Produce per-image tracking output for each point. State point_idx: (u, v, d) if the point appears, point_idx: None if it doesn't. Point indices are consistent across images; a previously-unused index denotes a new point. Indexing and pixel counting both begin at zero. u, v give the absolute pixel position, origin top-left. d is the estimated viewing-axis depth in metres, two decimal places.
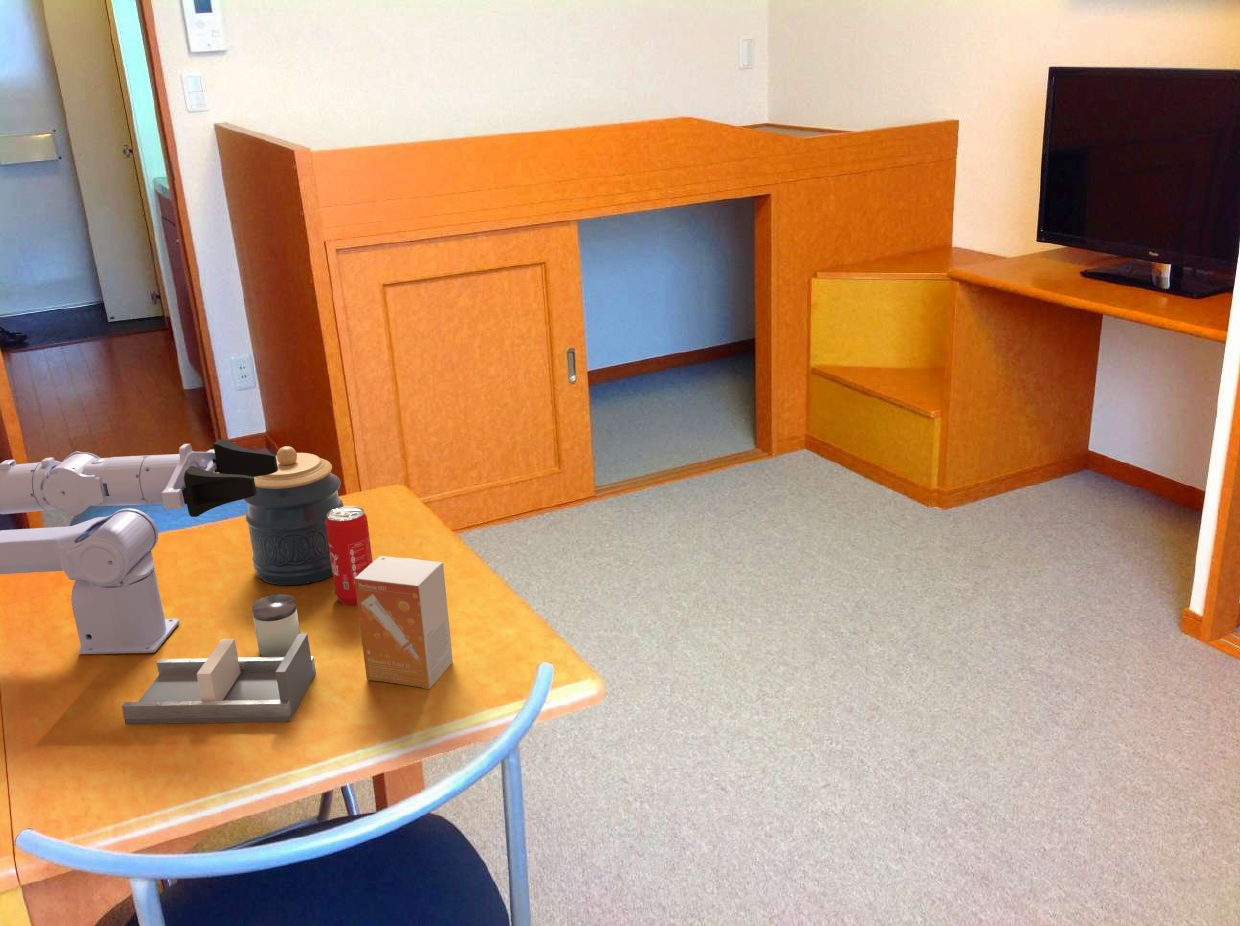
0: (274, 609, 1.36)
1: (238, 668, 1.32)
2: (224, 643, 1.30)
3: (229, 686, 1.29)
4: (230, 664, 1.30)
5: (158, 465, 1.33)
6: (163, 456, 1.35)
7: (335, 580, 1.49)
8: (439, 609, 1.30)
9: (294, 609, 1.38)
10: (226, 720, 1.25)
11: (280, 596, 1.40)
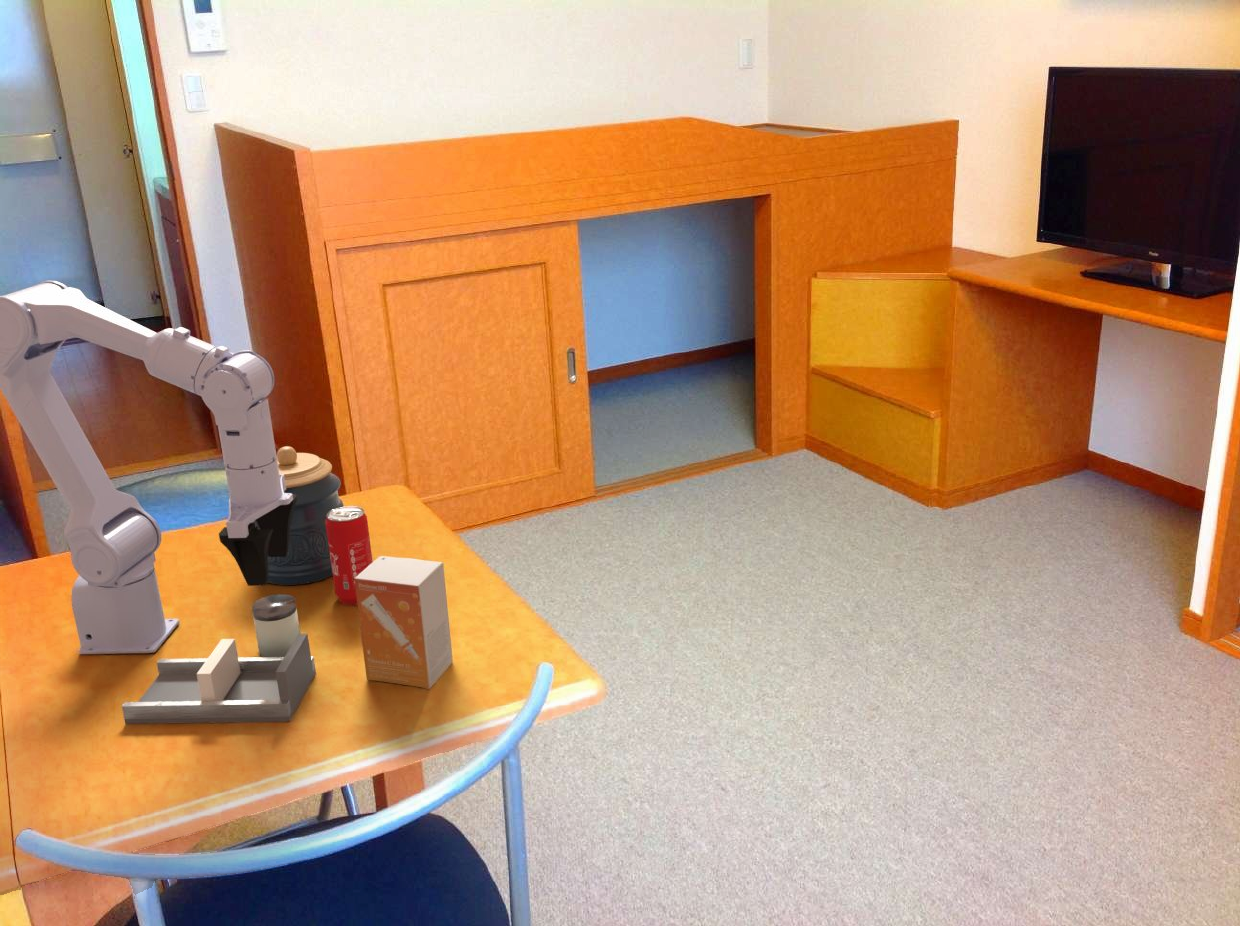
0: (274, 609, 1.36)
1: (238, 668, 1.32)
2: (224, 643, 1.30)
3: (229, 686, 1.29)
4: (230, 664, 1.30)
5: (268, 482, 1.30)
6: (277, 477, 1.32)
7: (335, 580, 1.49)
8: (439, 609, 1.30)
9: (294, 609, 1.38)
10: (226, 720, 1.25)
11: (280, 596, 1.39)
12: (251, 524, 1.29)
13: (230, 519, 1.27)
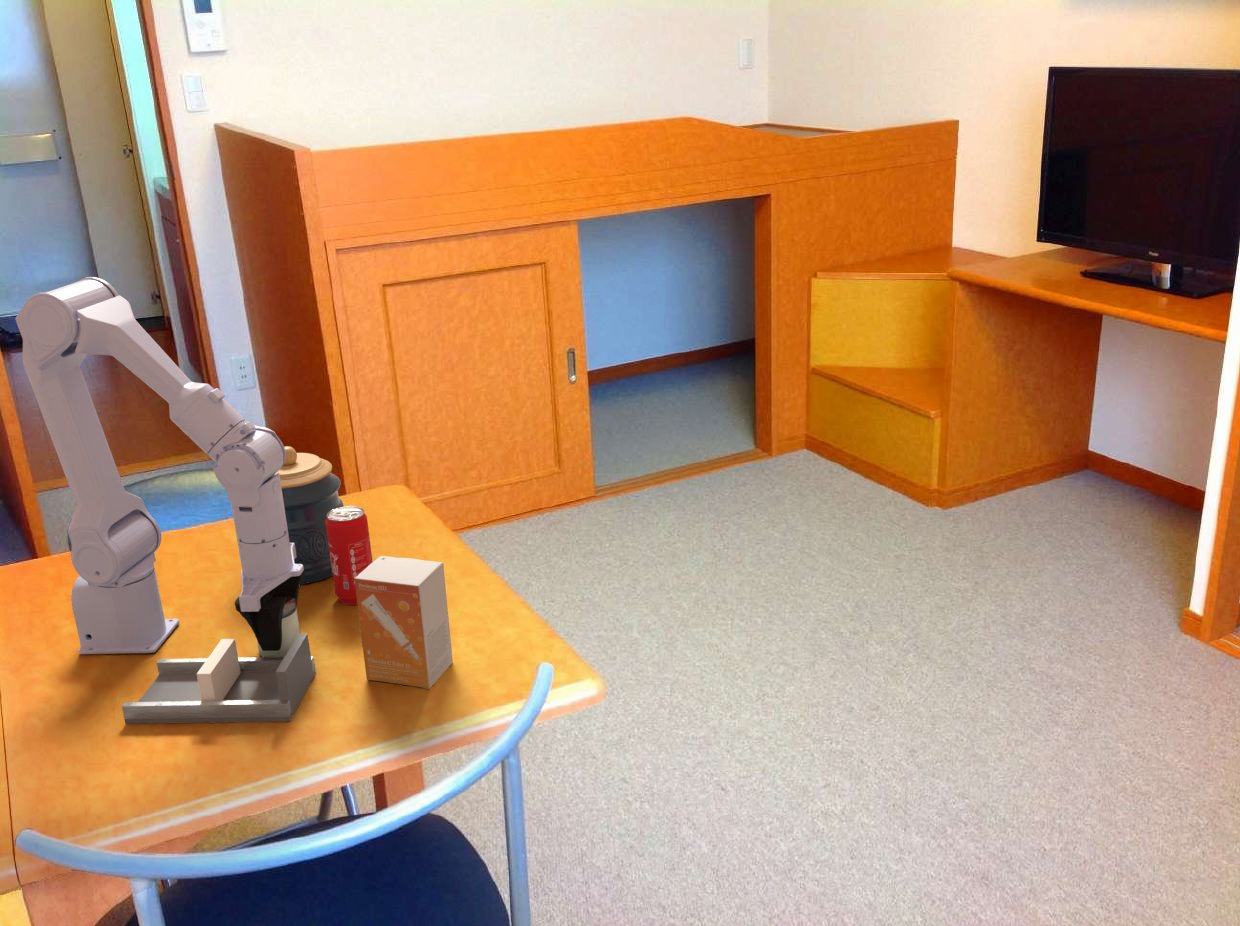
0: None
1: (238, 668, 1.32)
2: (224, 643, 1.30)
3: (229, 686, 1.29)
4: (230, 664, 1.30)
5: (279, 555, 1.34)
6: (288, 549, 1.35)
7: (335, 580, 1.49)
8: (439, 609, 1.30)
9: (294, 609, 1.38)
10: (226, 720, 1.25)
11: (280, 596, 1.39)
12: (263, 597, 1.32)
13: (243, 593, 1.30)
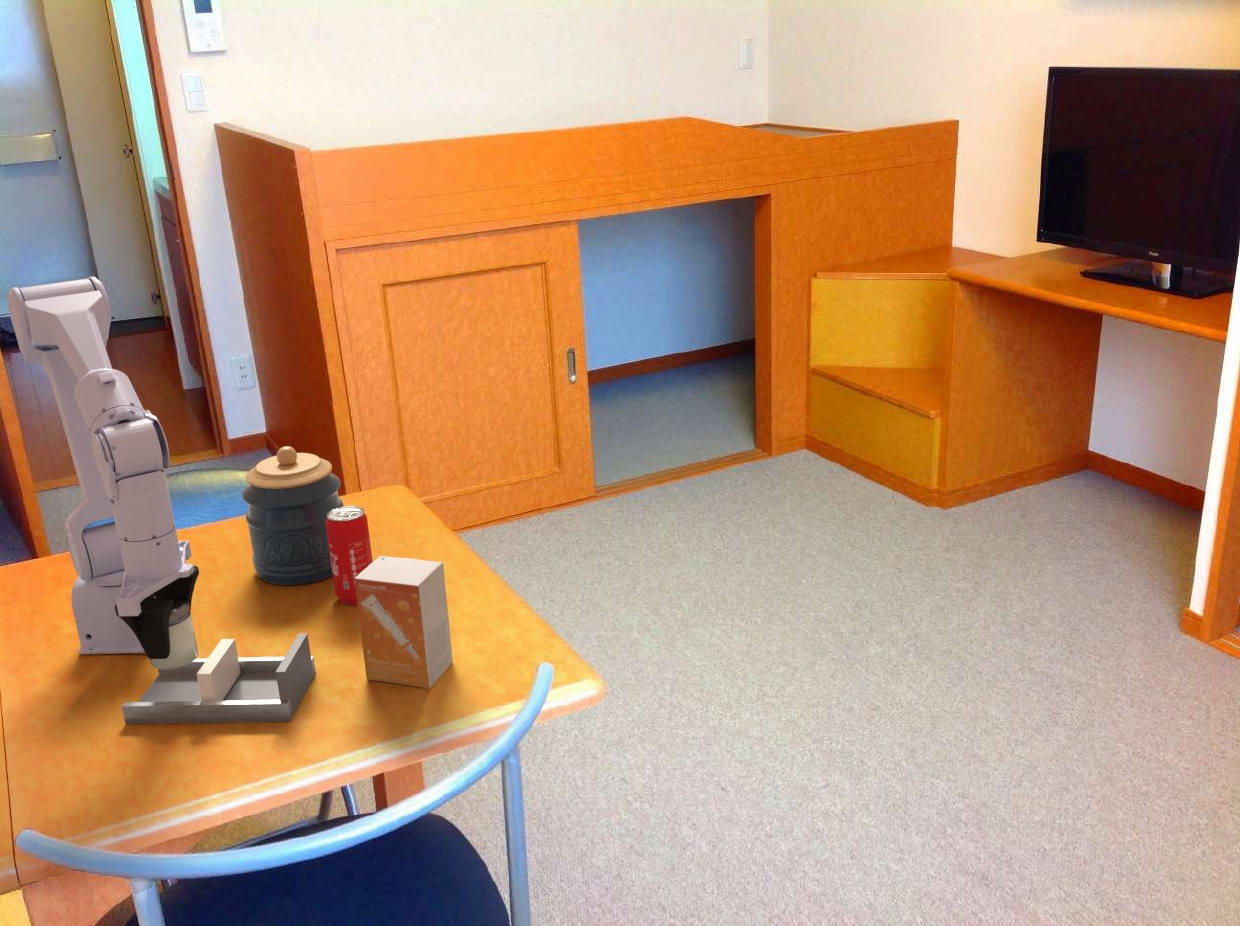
0: None
1: (238, 668, 1.32)
2: (224, 643, 1.30)
3: (229, 686, 1.29)
4: (230, 664, 1.30)
5: (164, 554, 1.22)
6: (176, 547, 1.23)
7: (335, 580, 1.49)
8: (439, 609, 1.30)
9: (188, 614, 1.26)
10: (226, 720, 1.25)
11: None
12: (145, 600, 1.21)
13: (121, 596, 1.19)
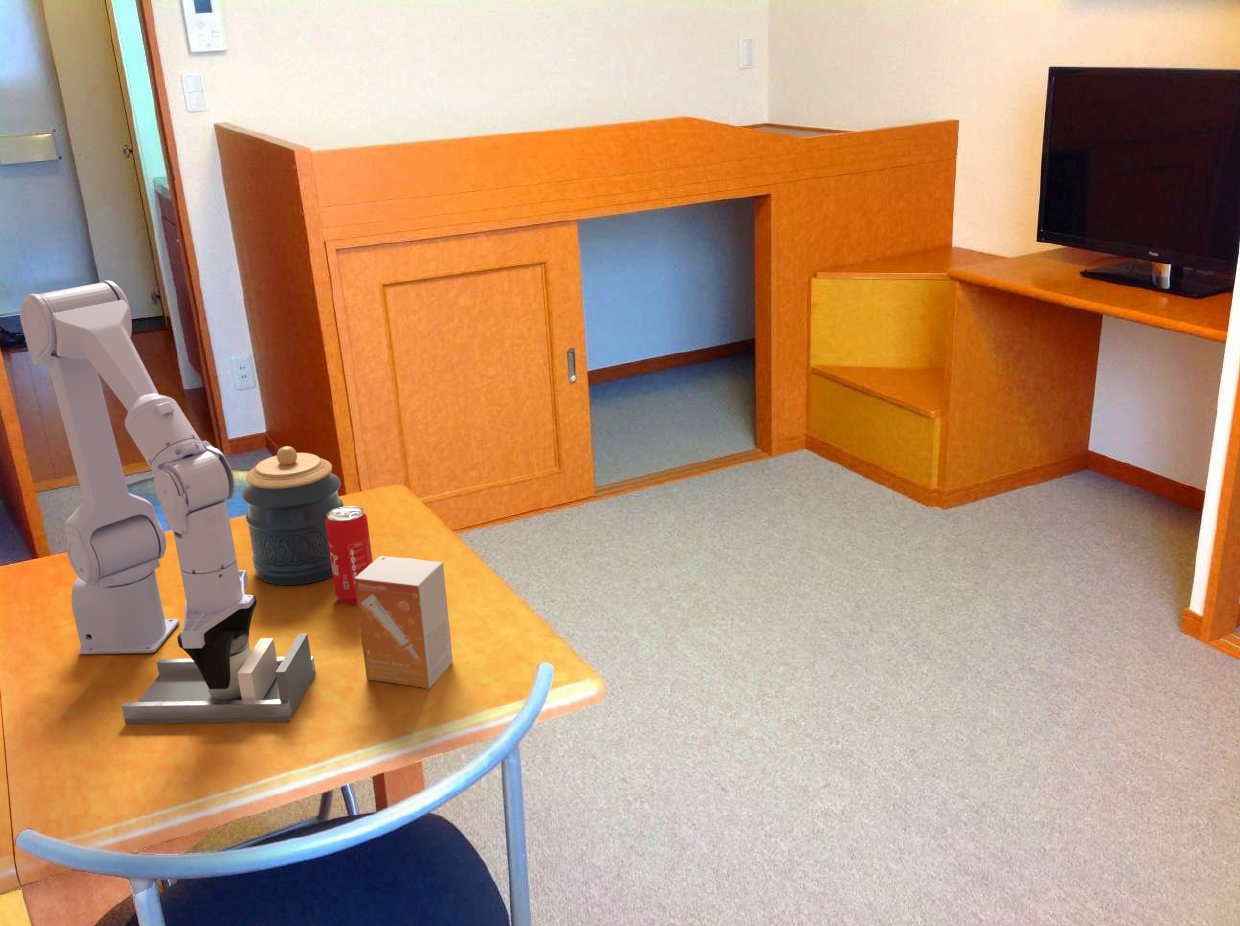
0: None
1: (276, 667, 1.32)
2: (263, 642, 1.30)
3: (268, 685, 1.29)
4: (269, 663, 1.30)
5: (226, 586, 1.23)
6: (237, 579, 1.24)
7: (335, 580, 1.49)
8: (439, 609, 1.30)
9: (247, 644, 1.27)
10: (226, 720, 1.25)
11: (230, 630, 1.29)
12: (208, 631, 1.22)
13: (185, 628, 1.20)
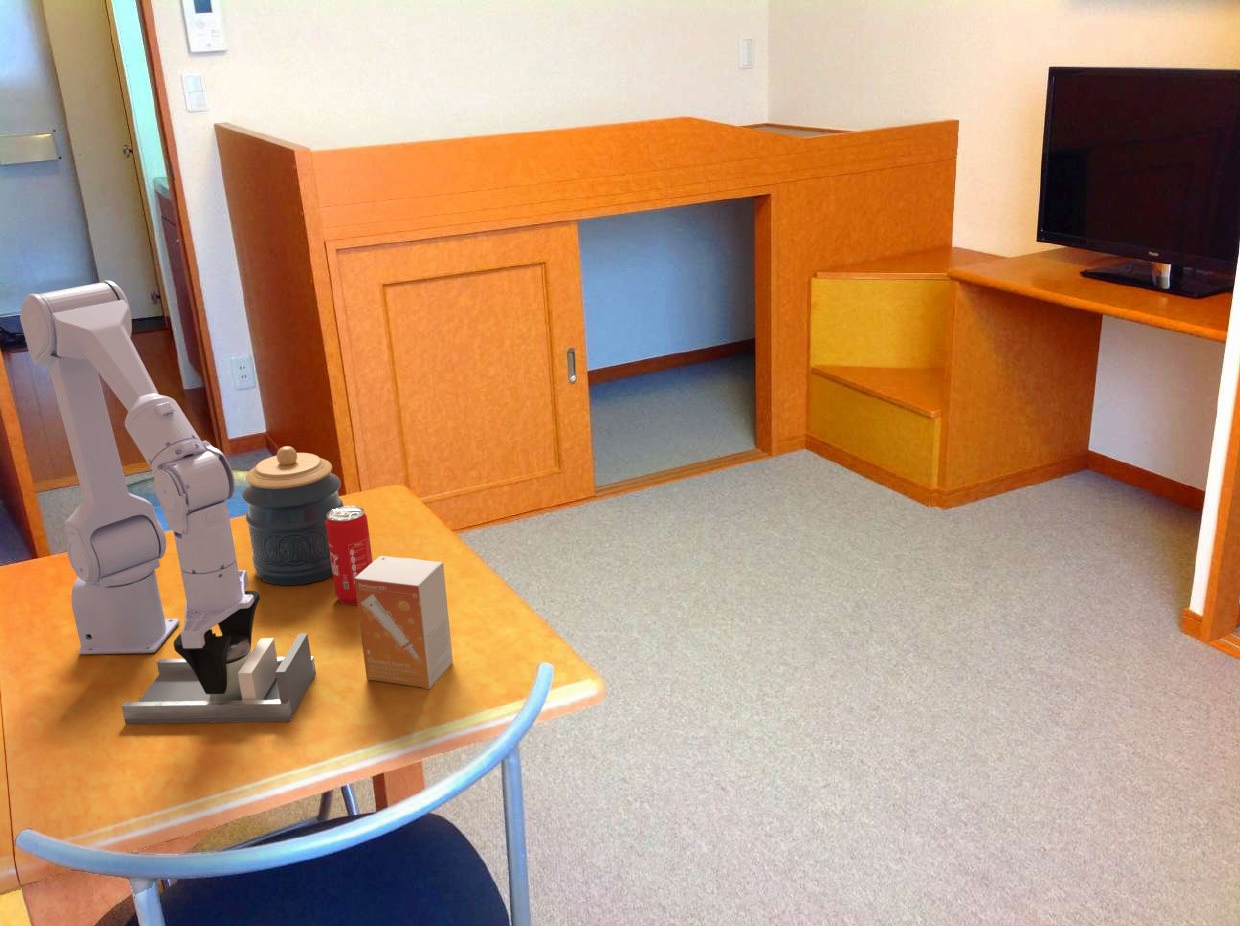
0: None
1: (277, 667, 1.32)
2: (263, 642, 1.30)
3: (269, 685, 1.29)
4: (270, 663, 1.30)
5: (226, 586, 1.23)
6: (237, 579, 1.24)
7: (335, 580, 1.49)
8: (439, 609, 1.30)
9: (248, 650, 1.27)
10: (226, 720, 1.25)
11: None
12: (208, 631, 1.22)
13: (185, 628, 1.20)
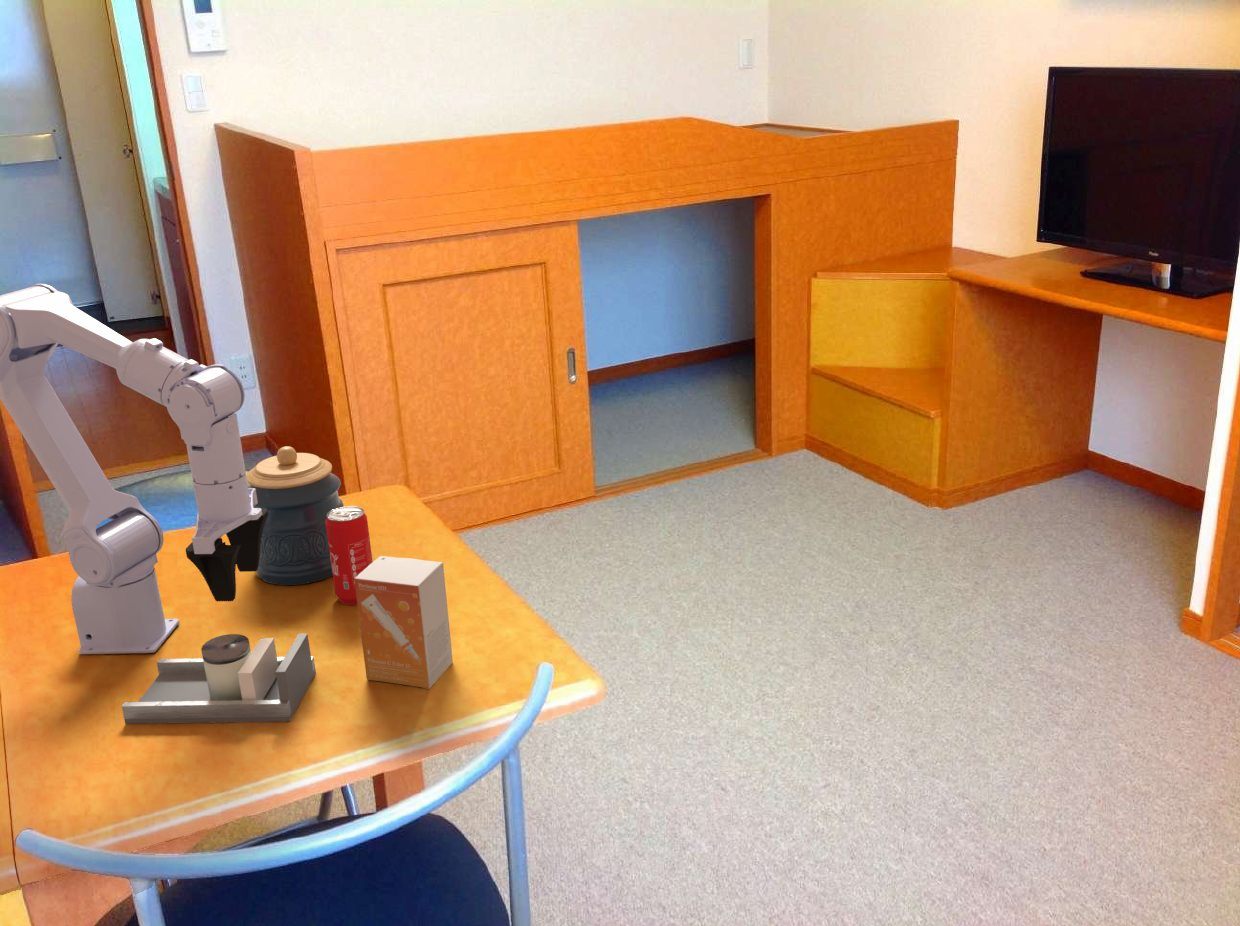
0: (226, 651, 1.26)
1: (277, 667, 1.32)
2: (263, 642, 1.30)
3: (269, 685, 1.29)
4: (270, 663, 1.30)
5: (236, 497, 1.29)
6: (246, 492, 1.31)
7: (335, 580, 1.49)
8: (439, 609, 1.30)
9: (248, 650, 1.27)
10: (226, 720, 1.25)
11: (232, 636, 1.29)
12: (218, 540, 1.28)
13: (196, 535, 1.26)
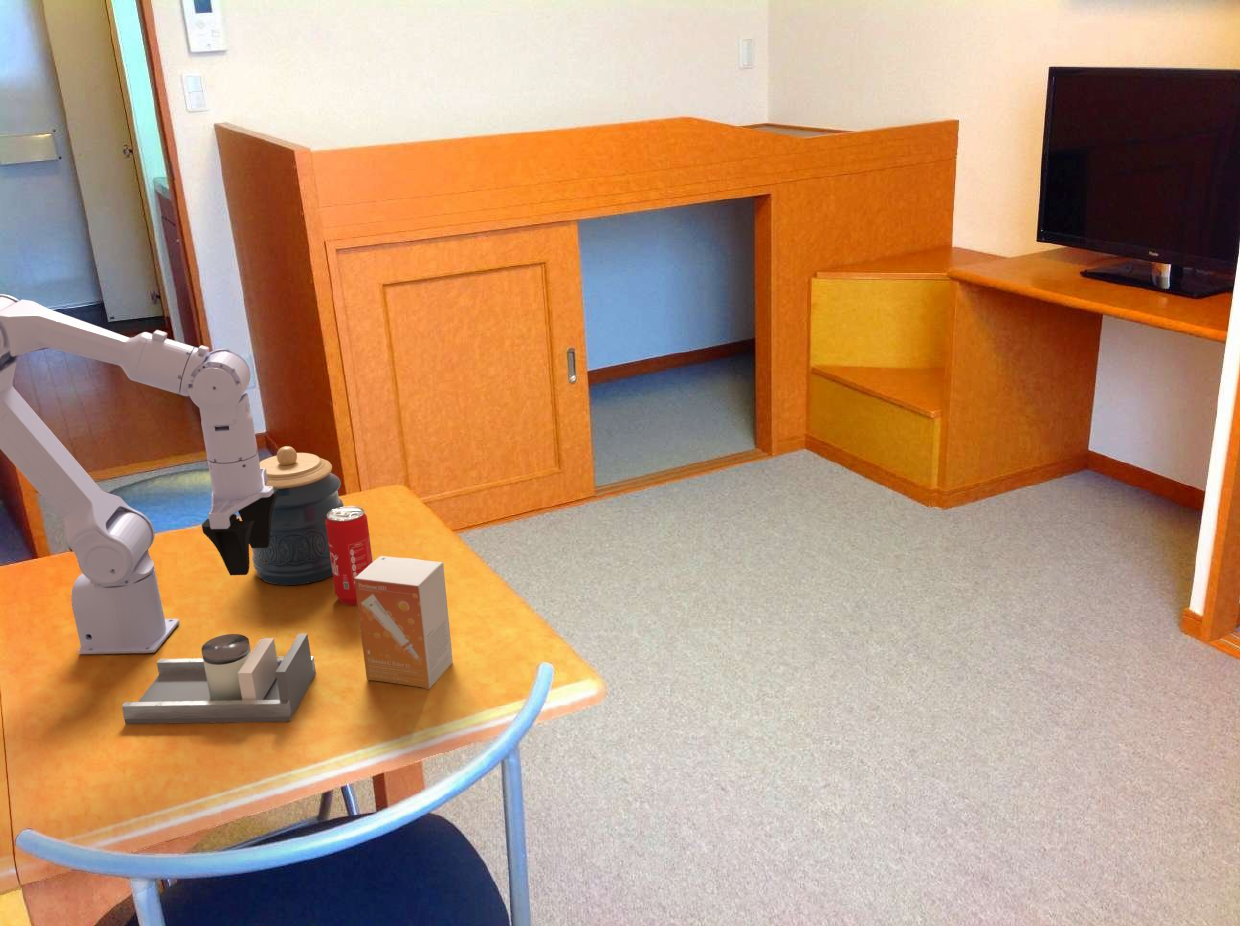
0: (226, 651, 1.26)
1: (277, 667, 1.32)
2: (263, 642, 1.30)
3: (269, 685, 1.29)
4: (270, 663, 1.30)
5: (249, 475, 1.36)
6: (258, 470, 1.37)
7: (335, 580, 1.49)
8: (439, 609, 1.30)
9: (248, 650, 1.27)
10: (226, 720, 1.25)
11: (232, 636, 1.29)
12: (233, 516, 1.35)
13: (212, 511, 1.33)
